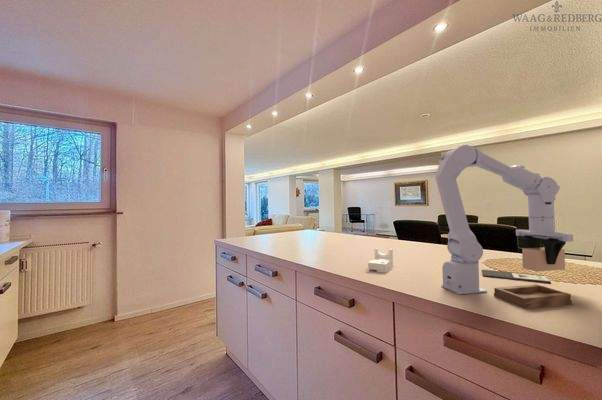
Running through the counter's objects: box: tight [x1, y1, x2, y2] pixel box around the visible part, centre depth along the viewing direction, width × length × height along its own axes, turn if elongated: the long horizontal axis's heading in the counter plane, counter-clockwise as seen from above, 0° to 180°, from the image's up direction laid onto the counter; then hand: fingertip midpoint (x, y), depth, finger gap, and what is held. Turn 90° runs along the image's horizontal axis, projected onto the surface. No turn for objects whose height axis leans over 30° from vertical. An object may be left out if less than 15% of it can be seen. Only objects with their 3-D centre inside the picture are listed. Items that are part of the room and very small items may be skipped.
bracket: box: [367, 247, 394, 274], centre depth 109 cm, size 13×7×8 cm, turn 149°
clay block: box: [521, 246, 566, 272], centre depth 78 cm, size 10×4×6 cm, turn 99°
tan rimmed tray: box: [493, 283, 573, 310], centre depth 70 cm, size 14×9×2 cm, turn 98°
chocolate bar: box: [481, 269, 552, 285], centre depth 92 cm, size 9×1×18 cm
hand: (542, 262), depth 78 cm, fingers closed on clay block, 4 cm apart
